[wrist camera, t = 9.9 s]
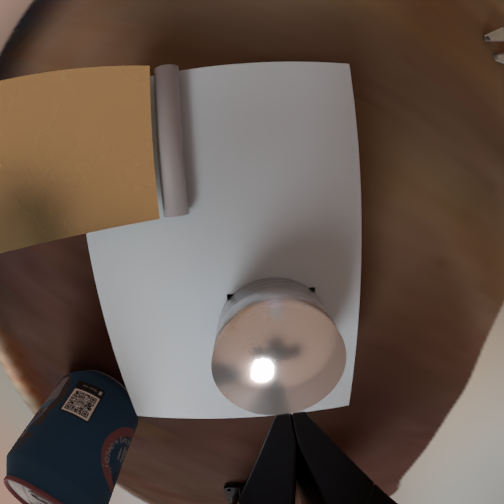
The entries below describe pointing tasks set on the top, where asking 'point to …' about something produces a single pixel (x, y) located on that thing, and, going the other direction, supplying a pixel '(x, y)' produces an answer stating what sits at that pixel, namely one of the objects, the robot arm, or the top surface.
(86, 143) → the plate
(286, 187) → the block
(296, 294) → the steel pin
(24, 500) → the soda can
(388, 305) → the top surface
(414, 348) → the top surface
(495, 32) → the caliper
